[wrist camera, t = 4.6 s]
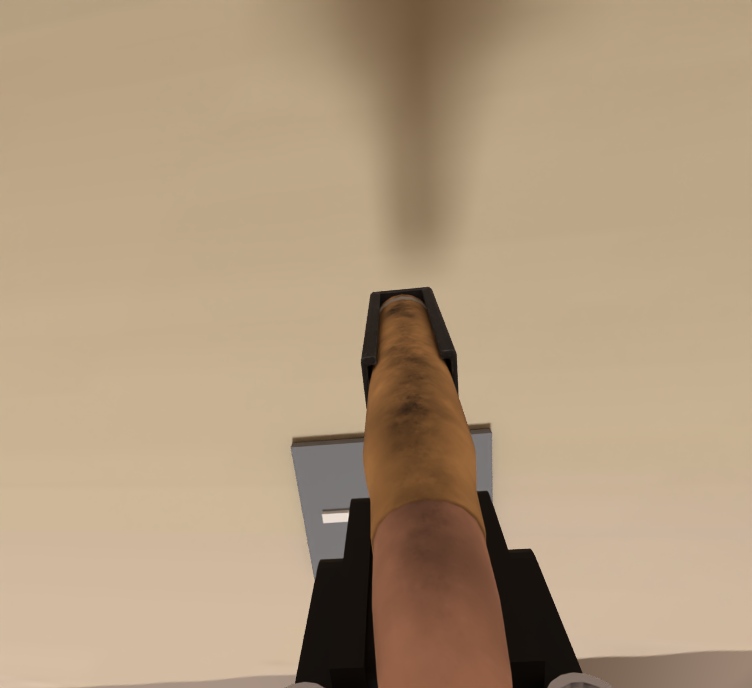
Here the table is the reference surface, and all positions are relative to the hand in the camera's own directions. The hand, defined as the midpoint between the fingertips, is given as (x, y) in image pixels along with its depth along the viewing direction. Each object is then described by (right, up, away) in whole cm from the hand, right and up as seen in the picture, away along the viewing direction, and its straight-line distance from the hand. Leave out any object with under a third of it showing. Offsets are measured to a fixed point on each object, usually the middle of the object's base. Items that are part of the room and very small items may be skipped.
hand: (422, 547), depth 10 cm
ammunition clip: (0, +1, +5) cm, 5 cm away
